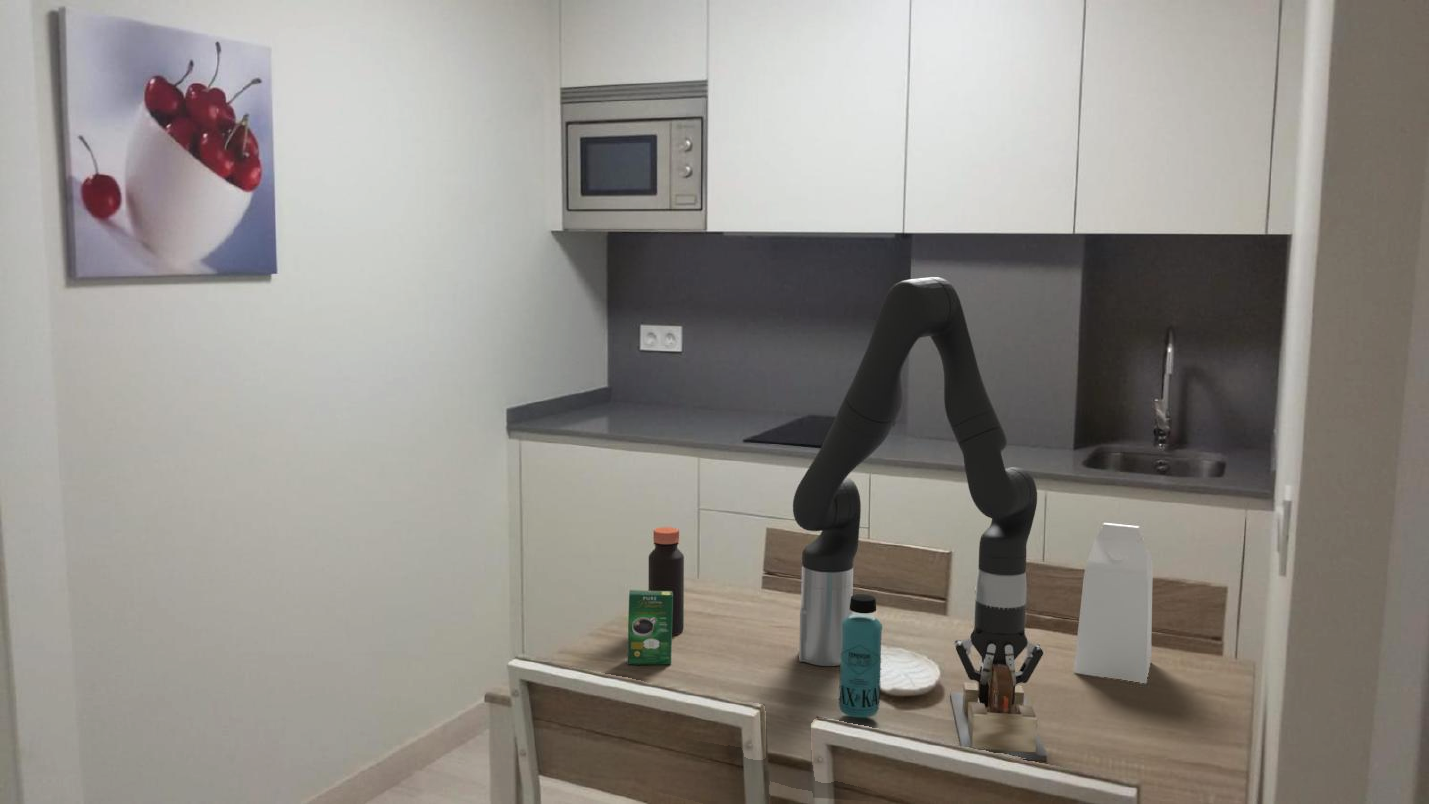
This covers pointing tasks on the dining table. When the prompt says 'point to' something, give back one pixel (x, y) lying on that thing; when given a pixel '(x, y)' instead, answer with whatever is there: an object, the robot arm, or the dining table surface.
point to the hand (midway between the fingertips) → (996, 705)
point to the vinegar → (668, 571)
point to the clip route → (997, 725)
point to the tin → (1000, 689)
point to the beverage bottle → (860, 659)
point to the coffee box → (650, 627)
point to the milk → (1116, 607)
